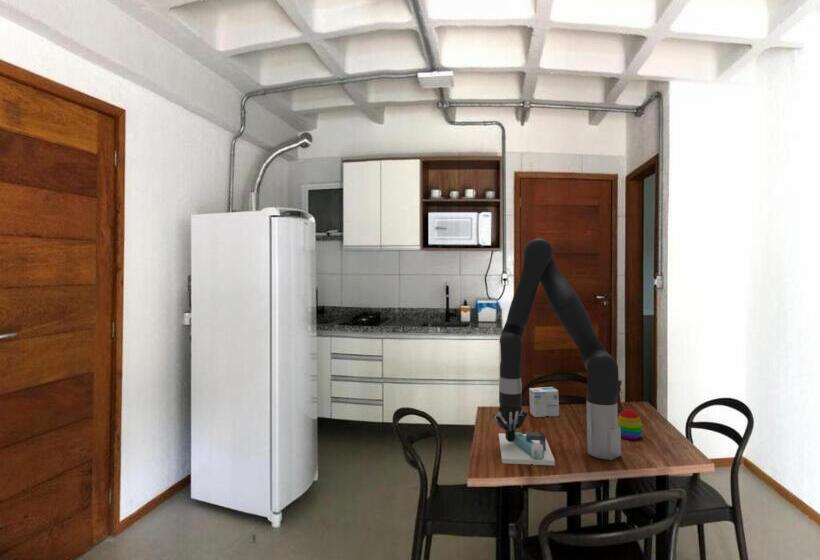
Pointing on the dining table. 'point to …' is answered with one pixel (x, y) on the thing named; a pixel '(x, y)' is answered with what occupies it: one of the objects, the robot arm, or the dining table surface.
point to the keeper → (537, 438)
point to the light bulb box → (544, 401)
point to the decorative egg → (630, 424)
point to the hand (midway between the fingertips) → (510, 441)
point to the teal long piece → (529, 446)
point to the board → (522, 453)
